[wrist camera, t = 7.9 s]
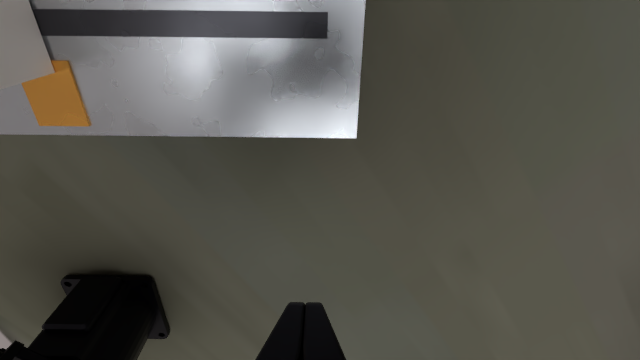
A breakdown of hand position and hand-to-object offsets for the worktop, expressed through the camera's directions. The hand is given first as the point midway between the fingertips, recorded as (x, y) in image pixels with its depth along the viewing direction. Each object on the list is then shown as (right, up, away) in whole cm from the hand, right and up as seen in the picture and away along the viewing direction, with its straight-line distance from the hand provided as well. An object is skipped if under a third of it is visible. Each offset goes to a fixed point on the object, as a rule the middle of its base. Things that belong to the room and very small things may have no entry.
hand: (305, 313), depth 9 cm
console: (-7, +11, +8) cm, 15 cm away
